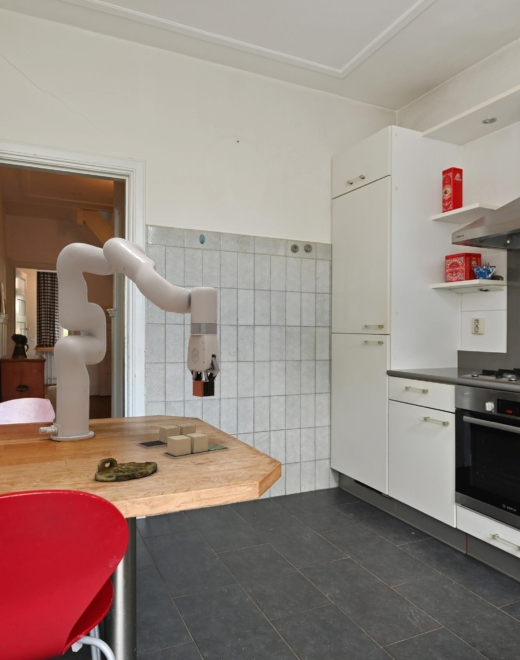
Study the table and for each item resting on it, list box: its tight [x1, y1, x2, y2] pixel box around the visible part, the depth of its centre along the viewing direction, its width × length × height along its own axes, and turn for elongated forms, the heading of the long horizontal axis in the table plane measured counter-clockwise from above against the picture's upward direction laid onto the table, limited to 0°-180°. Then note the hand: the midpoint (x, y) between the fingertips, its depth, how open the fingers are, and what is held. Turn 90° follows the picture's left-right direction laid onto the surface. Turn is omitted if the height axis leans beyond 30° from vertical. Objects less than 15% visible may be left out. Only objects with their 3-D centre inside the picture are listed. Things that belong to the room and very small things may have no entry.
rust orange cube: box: [192, 379, 216, 398], centre depth 135 cm, size 4×4×4 cm
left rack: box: [138, 422, 197, 448], centre depth 142 cm, size 17×6×5 cm, turn 130°
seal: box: [94, 457, 158, 482], centre depth 108 cm, size 9×5×15 cm
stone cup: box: [47, 384, 57, 423], centre depth 169 cm, size 15×12×15 cm
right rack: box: [164, 432, 228, 458], centre depth 131 cm, size 17×6×5 cm, turn 130°
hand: (203, 394), depth 135 cm, fingers closed on rust orange cube, 4 cm apart
